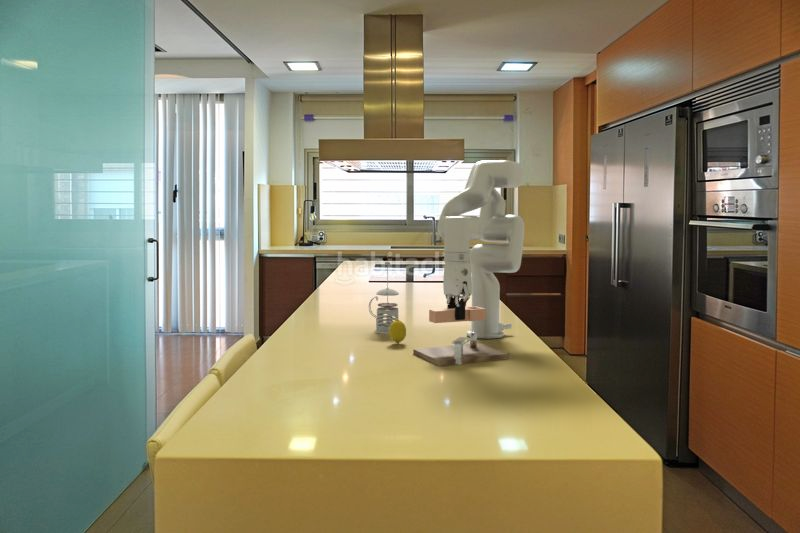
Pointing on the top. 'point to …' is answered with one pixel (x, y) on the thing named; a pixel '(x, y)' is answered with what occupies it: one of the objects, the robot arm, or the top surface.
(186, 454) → the top surface
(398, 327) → the lemon
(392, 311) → the french press
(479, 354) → the walnut plate
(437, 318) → the link
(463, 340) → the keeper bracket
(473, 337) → the cylinder
